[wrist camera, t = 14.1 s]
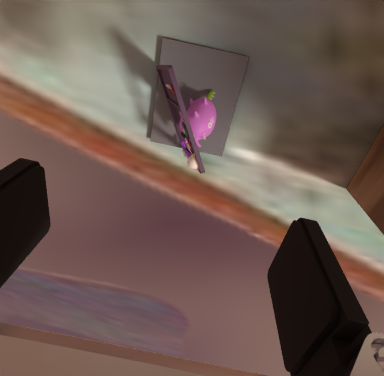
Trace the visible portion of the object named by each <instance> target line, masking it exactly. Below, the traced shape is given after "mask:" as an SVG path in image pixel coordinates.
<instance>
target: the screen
mask: <svg viewBox="0 0 384 376" xmlns="http://www.w3.org/2000/svg"><path fill="white" fill-rule="evenodd" d="M346 189H347V190H348V192H349V193H350V194H351V195H352V197H353V198H354V199H355V200H356V201H357V203H358V204H359V205H360V206H361V208H362V209H363V210H364V211H365V212H366V214H367V215H368V216H369V217H370V219H371V220H372V221H373V222H374V223H375V225H376V226H377V227H378V228H379V230H380V231H381V232H382V233H383V234H384V125H383V127H382V129H381V130H380V132H379V134H378V135H377V137H376V139H375V141H374V142H373V144H372V146H371V147H370V149H369V151H368V153H367V154H366V156H365V158H364V159H363V161H362V163H361V165H360V166H359V168H358V170H357V171H356V173H355V175H354V177H353V178H352V180H351V182H350V183H349V185H348V187H347V188H346Z"/></svg>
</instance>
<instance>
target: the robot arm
mask: <svg viewBox="0 0 384 376" xmlns="http://www.w3.org/2000/svg"><path fill="white" fill-rule="evenodd" d="M49 228H50V216H49V207H48V198H47V189H46V181H45V171H44V168H43V167H41V166H40V164H39V162H36V161H32V160H27V159H23V158H20V159H18V160H16V161H14V162H13V163H11V164H10V165H8V166H6V167H5V168H3V169H2V170H0V288H1V286H2V285H3V284H4V283H5V282H6V281H7V279H8V278H9V277H10V276H11V275H12V274H13V272H14V271H15V270H16V269H17V268H18V267H19V265H20V264H21V263H22V262H23V261H24V260H25V258H26V257H27V256H28V255H29V254H30V253H31V251H32V250H33V249H34V248H35V247H36V245H37V244H38V243H39V242H40V241H41V240H42V238H43V237H44V236H45V235H46V234H47V232H48V231H49ZM268 283H269V288H270V293H271V298H272V303H273V309H274V314H275V319H276V324H277V329H278V334H279V340H280V345H281V350H282V355H283V360H284V365H285V368H286V370H287V371H288V372H290V374H291V376H384V334H382V333H372V332H371V330H370V328H369V326H368V324H369V322H368V320H367V318H366V316H365V314H364V312H363V310H362V308H361V306H360V304H359V302H358V300H357V298H356V296H355V294H354V292H353V290H352V288H351V286H350V284H349V282H348V281H347V279H346V277H345V275H344V273H343V271H342V269H341V267H340V265H339V263H338V261H337V259H336V257H335V255H334V253H333V251H332V249H331V247H330V245H329V243H328V241H327V239H326V238H325V236H324V234H323V232H322V230H321V228H320V226H319V224H318V222H317V221H314V220H310V219H305V218H299V219H298V220H297V221H296V220H294V221H293V222H292V224H291V226H290V228H289V230H288V232H287V234H286V236H285V238H284V240H283V242H282V244H281V246H280V248H279V250H278V252H277V254H276V256H275V258H274V260H273V262H272V264H271V266H270V268H269V270H268ZM0 376H265V375H262V374H257V373H252V372H247V371H242V370H237V369H232V368H228V367H223V366H217V365H213V364H208V363H203V362H198V361H193V360H188V359H184V358H179V357H174V356H169V355H164V354H159V353H154V352H149V351H144V350H139V349H134V348H129V347H124V346H119V345H114V344H109V343H104V342H99V341H94V340H89V339H84V338H79V337H73V336H68V335H63V334H58V333H53V332H47V331H43V330H38V329H32V328H27V327H22V326H17V325H12V324H6V323H1V322H0Z"/></svg>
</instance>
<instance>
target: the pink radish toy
mask: <svg viewBox="0 0 384 376" xmlns="http://www.w3.org/2000/svg"><path fill="white" fill-rule="evenodd" d="M156 69H157V72H158V74H159V77H160V80H161V83H162V86H163V89H164V92H165V95H166V98H167V101H168V104H169V107H170V110H171V113H172V116H173V119H174V122H175V125H176V128H177V131H178V134H179V139H180V141H181V145H182V148H183V150H182V151H183V153H184V154H185V156H186V157H187V159H188V161H187V163H188V166H189V167H190V168H192V169H198V170H199V172H200V173H204V172H205V170H204V167H203V164H202V160H201V157H200V154H199V151H198V147H201V145H200V144H199V142H198V140H202V139H204V140H205V138H206V137H207V136H208V135H210V133H211V132H212V131H213V129H214V126H215V123H216V109H215V106H214V104H213V103H212V102H211V101H210V100H211V99H212V98H211V97H214V96H213V94H214V93H215V92H214V91H213V90H211V91H210V92H209V93H208V95H207V96H206V97H204V98H198V99H197V100H195V101H193V100H192V99H190V107H189V108H188V110H187V111H186V109H185V105H184V102H183V99H182V96H181V93H180V89H179V86H178V83H177V80H176V76H175V73H174V70H173V67H172V65H159V66H156ZM173 105H175V106H176V107H177V108H179V109H180V110H181V112H179V113H180V116H181V119H180V124H179V121H178V118H177V115H176V112H175V109H174V106H173ZM184 138H186V140H185V139H184ZM187 142H188V144H187V145H188V148H189V149H190V150H191V152H192V153H191V152H190V151H189V150H188V148H187V145H186V143H187ZM197 146H198V147H197ZM194 154H195V156H194Z"/></svg>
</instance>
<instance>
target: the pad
mask: <svg viewBox="0 0 384 376" xmlns="http://www.w3.org/2000/svg"><path fill="white" fill-rule="evenodd" d="M248 60H249V57H248V56H243V55H239V54H234V53H230V52H225V51H221V50H217V49H212V48H208V47H203V46H199V45H194V44H190V43H185V42H181V41H176V40H172V39H168V38H162V46H161V55H160V63H159V65H172V67H173V70H174V73H175V76H176V80H177V83H178V86H179V89H180V93H181V96H182V99H183V102H184V105H185V109H186V111H187V110H188V108H189V107H190V99H192V100H193V101H195V100H197V99H198V98H204V97H206V96H207V95H208V93H209V92H210V91H211V90H213V91H214V92H215V93H214V94H213V96H214V97H211V98H212V99H211V100H210V101H211V102H212V103H213V104H214V106H215V109H216V123H215V126H214V129H213V131H212V132H211V133H210V135H208V136H207V137H206V138H205V140H204V139H202V140H198V142H199V144H200V145H201V147H198V146H197V147H198V151H199V152H204V153H209V154H213V155H218V156H222V154H223V150H224V147H225V143H226V140H227V136H228V132H229V129H230V125H231V121H232V118H233V114H234V111H235V107H236V103H237V100H238V96H239V92H240V89H241V85H242V82H243V78H244V74H245V71H246V67H247V63H248ZM173 106H174V109H175V112H176V115H177V118H178V121H179V124H180V119H181V116H180V113H179V112H181V110H180V109H179V108H177V107H176V106H175V105H173ZM184 139H185V140H186V138H184ZM150 141H152V142H157V143H161V144H166V145H171V146H176V147H180V148H182V145H181V141H180V139H179V134H178V131H177V128H176V125H175V122H174V119H173V116H172V113H171V110H170V107H169V104H168V101H167V98H166V95H165V92H164V89H163V86H162V83H161V80H160V77H159V74H158V80H157V89H156V97H155V106H154V114H153V123H152V131H151V140H150ZM187 144H188V142H187V143H186V145H187ZM187 148H188V145H187ZM188 149H189V148H188Z"/></svg>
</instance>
